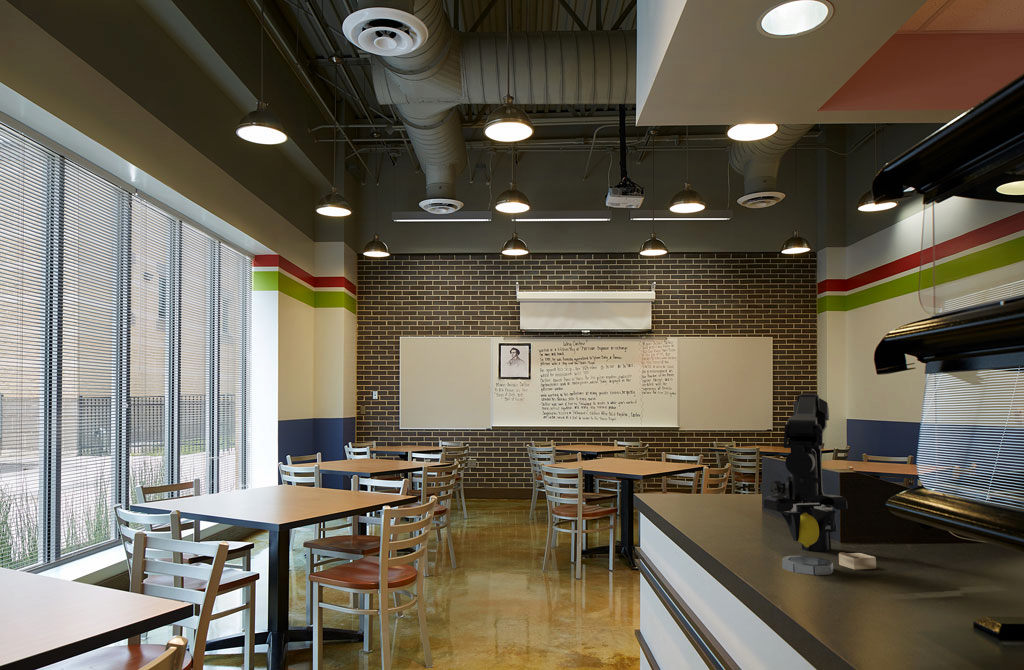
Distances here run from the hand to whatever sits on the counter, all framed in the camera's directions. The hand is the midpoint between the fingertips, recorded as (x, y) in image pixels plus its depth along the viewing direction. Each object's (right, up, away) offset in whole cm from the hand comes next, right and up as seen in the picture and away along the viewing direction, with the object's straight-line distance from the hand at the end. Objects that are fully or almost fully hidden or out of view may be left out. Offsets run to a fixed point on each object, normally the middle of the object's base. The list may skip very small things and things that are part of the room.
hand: (806, 540), depth 157 cm
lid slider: (+13, -7, +2) cm, 15 cm away
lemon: (0, -2, 0) cm, 2 cm away
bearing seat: (0, -7, -1) cm, 7 cm away
